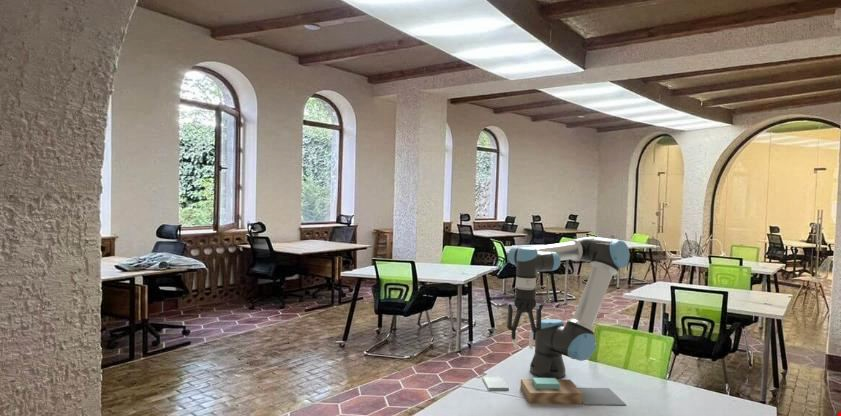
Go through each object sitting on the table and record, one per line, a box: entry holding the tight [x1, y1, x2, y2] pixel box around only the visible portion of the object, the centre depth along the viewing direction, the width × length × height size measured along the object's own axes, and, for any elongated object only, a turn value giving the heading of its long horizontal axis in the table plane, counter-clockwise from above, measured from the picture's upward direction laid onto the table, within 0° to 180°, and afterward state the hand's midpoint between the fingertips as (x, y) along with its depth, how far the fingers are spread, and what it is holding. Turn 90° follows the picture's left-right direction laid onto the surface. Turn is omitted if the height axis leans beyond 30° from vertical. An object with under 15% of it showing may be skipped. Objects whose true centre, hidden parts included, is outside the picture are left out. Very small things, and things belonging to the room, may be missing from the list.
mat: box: [577, 387, 627, 406], centre depth 207 cm, size 16×16×1 cm
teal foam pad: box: [531, 377, 560, 389], centre depth 205 cm, size 9×6×2 cm, turn 93°
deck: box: [519, 378, 583, 405], centre depth 205 cm, size 20×14×4 cm
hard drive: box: [482, 376, 510, 391], centre depth 216 cm, size 2×8×12 cm
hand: (523, 347), depth 204 cm, fingers open, 5 cm apart
